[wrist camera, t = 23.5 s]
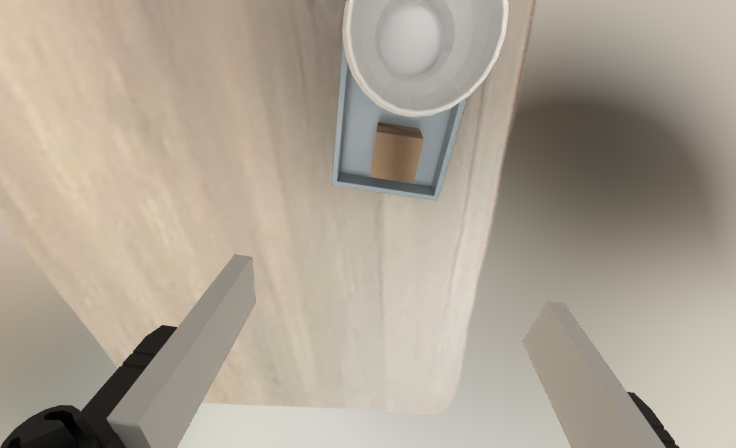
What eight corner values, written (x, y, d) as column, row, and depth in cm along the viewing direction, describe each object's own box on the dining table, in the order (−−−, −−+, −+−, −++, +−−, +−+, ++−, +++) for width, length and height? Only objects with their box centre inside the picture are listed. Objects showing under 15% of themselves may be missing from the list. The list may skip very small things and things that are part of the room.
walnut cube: (372, 162, 37) (369, 176, 33) (378, 122, 34) (376, 131, 30) (410, 168, 37) (413, 183, 33) (419, 128, 34) (423, 139, 30)
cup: (418, -56, 26) (446, -164, 13) (483, 44, 30) (554, 35, 17) (338, 38, 30) (299, 26, 18) (403, 117, 34) (411, 155, 21)
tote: (353, -31, 28) (349, -42, 25) (488, -10, 28) (499, -18, 25) (336, 175, 39) (331, 185, 36) (433, 189, 39) (437, 201, 36)
